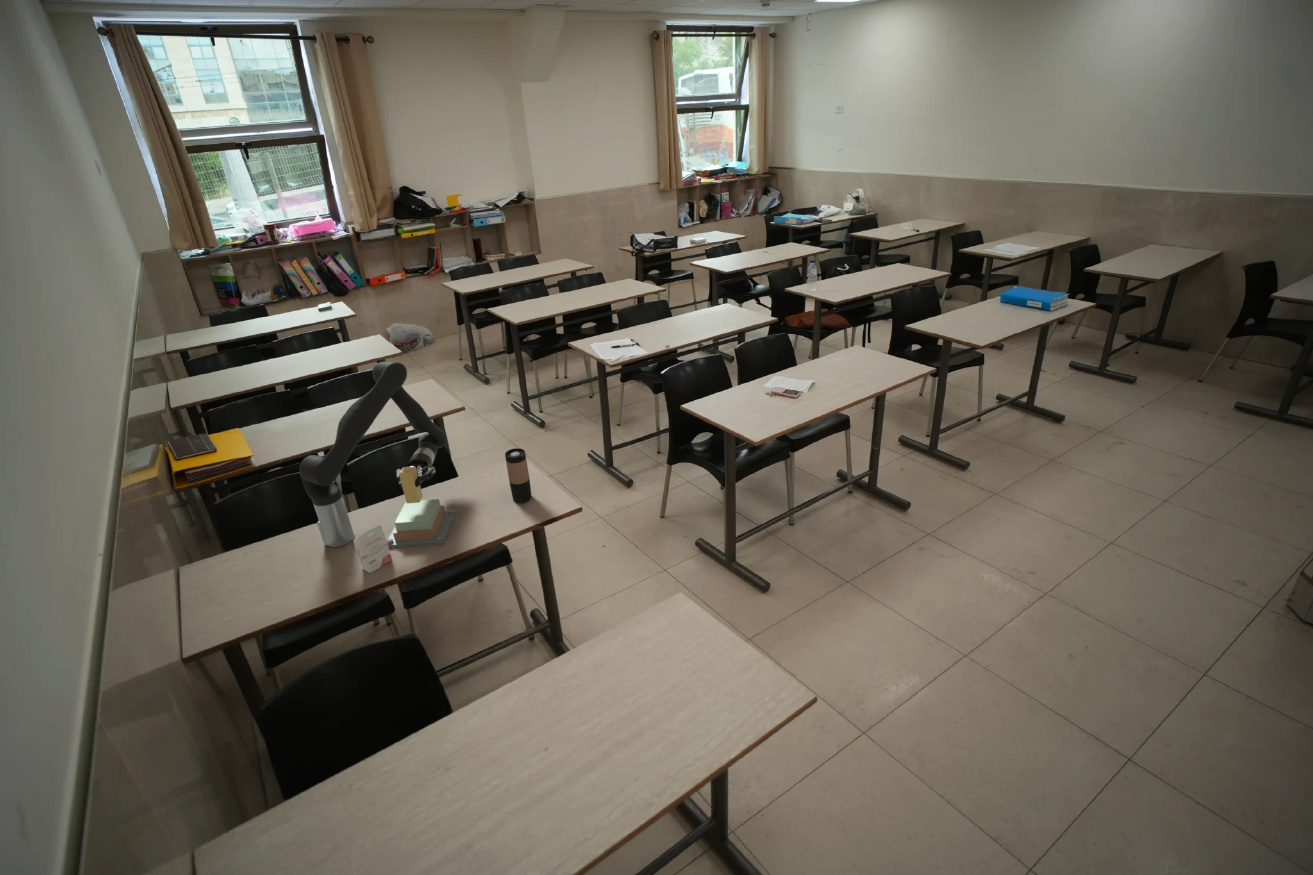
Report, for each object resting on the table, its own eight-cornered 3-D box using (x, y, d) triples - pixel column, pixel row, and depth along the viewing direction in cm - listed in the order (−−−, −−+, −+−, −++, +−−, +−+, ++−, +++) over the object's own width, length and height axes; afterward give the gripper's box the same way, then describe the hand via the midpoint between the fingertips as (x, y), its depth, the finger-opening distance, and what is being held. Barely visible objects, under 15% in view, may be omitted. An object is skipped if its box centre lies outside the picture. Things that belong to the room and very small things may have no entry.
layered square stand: (385, 548, 228) (379, 528, 224) (402, 516, 245) (397, 497, 242) (443, 544, 228) (438, 524, 224) (455, 512, 246) (451, 494, 242)
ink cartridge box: (384, 555, 224) (373, 519, 217) (392, 560, 221) (382, 524, 215) (361, 568, 218) (349, 532, 211) (369, 573, 215) (358, 537, 209)
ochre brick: (406, 503, 229) (398, 471, 223) (410, 496, 233) (402, 465, 227) (419, 502, 229) (411, 471, 223) (422, 495, 233) (414, 464, 227)
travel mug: (510, 496, 255) (502, 451, 246) (529, 491, 257) (522, 446, 248) (515, 505, 248) (507, 459, 239) (534, 500, 251) (527, 454, 242)
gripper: (400, 453, 239) (385, 477, 224) (439, 451, 240) (427, 474, 225) (404, 471, 243) (390, 496, 228) (443, 468, 243) (431, 493, 228)
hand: (408, 485), depth 226 cm, fingers closed on ochre brick, 4 cm apart
